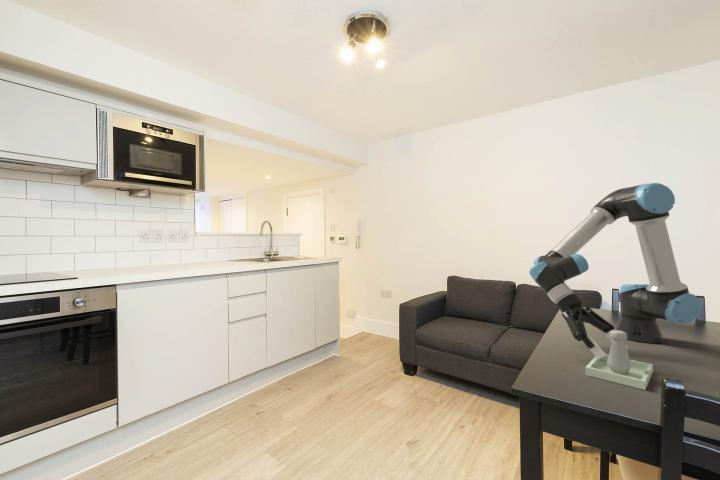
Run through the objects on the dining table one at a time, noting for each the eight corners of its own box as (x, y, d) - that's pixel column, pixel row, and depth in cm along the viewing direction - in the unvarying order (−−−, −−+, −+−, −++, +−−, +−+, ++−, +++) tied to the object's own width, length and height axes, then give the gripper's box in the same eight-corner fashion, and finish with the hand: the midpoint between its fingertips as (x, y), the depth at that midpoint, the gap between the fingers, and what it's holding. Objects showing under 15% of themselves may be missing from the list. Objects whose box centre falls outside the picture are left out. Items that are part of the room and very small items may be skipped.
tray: (598, 359, 110) (598, 352, 110) (653, 371, 99) (652, 364, 99) (585, 374, 98) (585, 367, 98) (645, 390, 87) (645, 381, 87)
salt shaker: (602, 368, 101) (601, 328, 101) (618, 367, 102) (618, 328, 102) (619, 376, 96) (618, 334, 96) (636, 375, 96) (635, 333, 96)
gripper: (576, 301, 121) (623, 352, 108) (536, 308, 110) (582, 366, 96) (591, 289, 116) (642, 341, 103) (551, 295, 105) (602, 354, 92)
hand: (614, 353), depth 100 cm, fingers open, 13 cm apart
